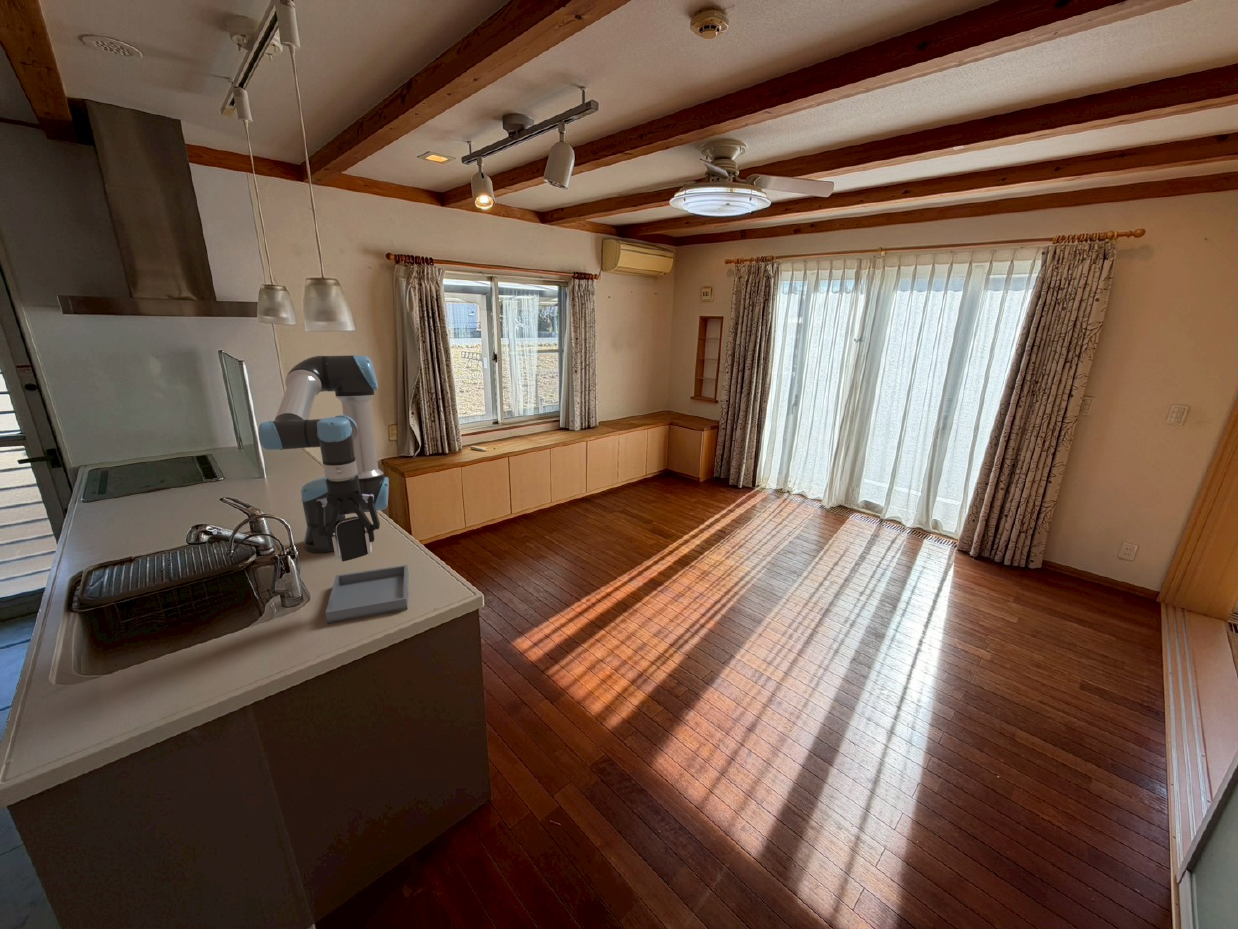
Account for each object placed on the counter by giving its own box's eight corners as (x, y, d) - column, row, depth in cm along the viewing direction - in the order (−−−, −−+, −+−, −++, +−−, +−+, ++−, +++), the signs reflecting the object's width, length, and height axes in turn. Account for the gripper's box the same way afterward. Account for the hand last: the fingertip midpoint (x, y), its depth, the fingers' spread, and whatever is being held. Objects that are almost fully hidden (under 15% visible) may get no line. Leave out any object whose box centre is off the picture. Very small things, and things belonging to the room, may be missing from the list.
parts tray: (337, 585, 145) (336, 575, 144) (408, 574, 152) (407, 564, 151) (327, 624, 128) (325, 612, 127) (407, 609, 135) (406, 598, 134)
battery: (364, 549, 138) (359, 513, 134) (369, 554, 135) (364, 517, 131) (337, 557, 133) (331, 520, 129) (342, 563, 130) (335, 524, 127)
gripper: (293, 485, 120) (309, 566, 127) (383, 477, 127) (393, 555, 134) (300, 475, 127) (315, 553, 134) (385, 469, 134) (394, 543, 141)
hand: (354, 554), depth 134 cm, fingers closed on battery, 7 cm apart
